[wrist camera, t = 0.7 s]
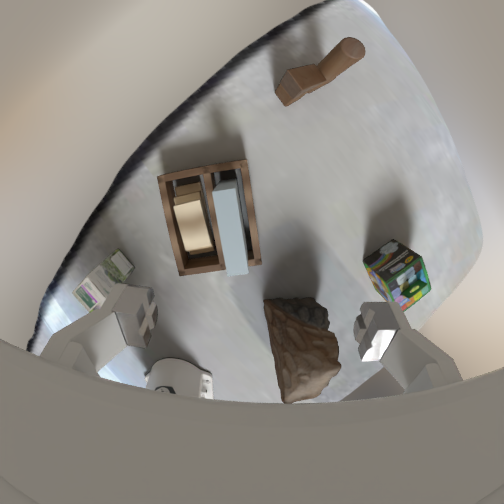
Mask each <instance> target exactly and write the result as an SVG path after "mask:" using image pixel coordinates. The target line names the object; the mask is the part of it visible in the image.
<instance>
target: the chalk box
mask: <svg viewBox="0 0 504 504" xmlns="http://www.w3.org/2000/svg"><path fill="white" fill-rule="evenodd" d="M363 263H364V265H365V268H366V270H367V272H368V274H369V276H370V279H371V281H372V283H373V285H374V287H375V289H376V291H377V292H378V293H379V294H380V295H381V296H382V297H383V298H384V299H385V300H386V301H387V302H398V303H399V305H400V307H401V309H402V311H403V312H404V311H406V310H407V309H408V308H410V307H411V306H412V305H414V304H415V303H416V302H417V301H418V300H420V299H421V298H422V297H423V296H424V295H426V294H427V293H428V292H429V291H430V290H431V285H430V281H429V278H428V274H427V271H426V269H425V264H424V262H423V258H422V256H420V255H418V254H417V253H415V252H414V251H412V250H411V249H409V248H407V247H406V246H404V245H403V244H401V243H399V242H398V241H396V240H394V239H393V240H391V241H390V242H388V243H387V244H386V245H384V246H383V247H382V248H380V249H379V250H377V251H376V252H374V253H373V254H372V255H370V256H369V257H367V258H366V259H364V260H363Z"/></svg>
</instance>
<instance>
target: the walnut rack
mask: <svg viewBox="0 0 504 504" xmlns="http://www.w3.org/2000/svg"><path fill="white" fill-rule="evenodd" d="M237 168H241V174H242V180H243V187H244V194H245V200H246V207H247V214H248V220H249V227H250V234H251V240H252V247H253V250H247V255H248V266H255V265H262V261H261V254H260V247H259V240H258V233H257V226H256V219H255V212H254V205H253V198H252V191H251V184H250V177H249V170H248V164H247V159H245V160H238V161H231V162H225V163H219V164H213V165H208V166H202V167H197V168H192V169H187V170H182V171H177V172H172V173H167V174H163V175H160V176H157V179H158V184H159V189H160V194H161V199H162V204H163V209H164V213H165V218H166V223H167V227H168V231H169V236H170V240H171V244H172V248H173V252H174V256H175V260H176V264H177V268H178V272H179V276H184V275H192V274H199V273H206V272H213V271H220V270H226V265H225V260H224V255H223V250H222V244H221V239H220V234H219V228H218V223H217V217H216V211H215V206H214V200H213V194H212V191H213V190H214V189H215V187H216V185H215V179H214V173H213V172H219V171H225V170H231V169H237ZM202 174H203V177H204V183H205V189H206V194H207V200H208V206H209V211H210V217H211V222H212V227H213V233H214V238H215V243H216V248H217V253H218V255H213V256H207V257H200V258H193V259H189V257H188V253H187V251H186V250H185V247H184V243H183V240H182V236H181V233H180V229H179V226H178V222H177V218H176V215H175V211H174V207H173V206H175V202H174V197H175V192H174V187H173V181H172V180H176V179H181V178H186V177H191V176H196V175H202Z"/></svg>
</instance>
